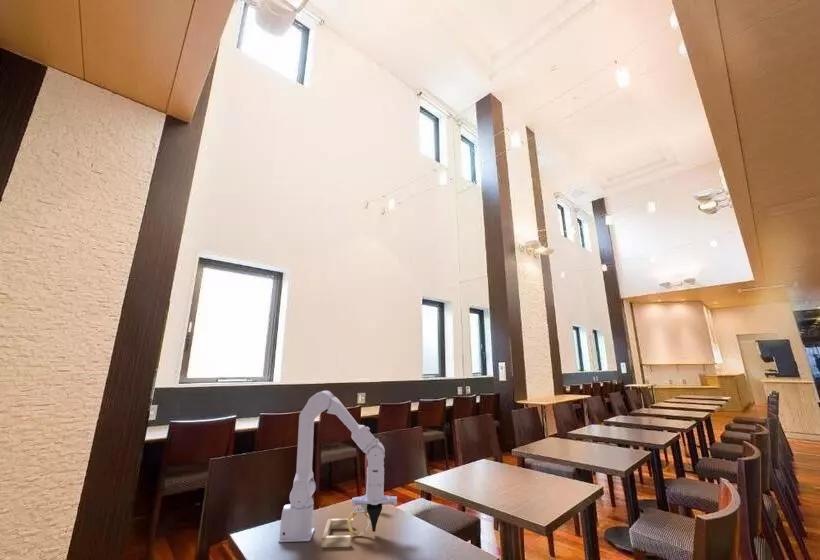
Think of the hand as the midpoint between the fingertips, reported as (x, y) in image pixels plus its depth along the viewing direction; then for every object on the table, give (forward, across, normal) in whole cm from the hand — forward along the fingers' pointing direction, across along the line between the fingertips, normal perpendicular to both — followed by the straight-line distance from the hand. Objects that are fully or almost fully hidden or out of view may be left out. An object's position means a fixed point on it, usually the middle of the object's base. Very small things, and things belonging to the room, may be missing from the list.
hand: (373, 530), depth 109 cm
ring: (+2, -5, 0) cm, 5 cm away
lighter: (+2, -2, +20) cm, 20 cm away
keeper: (+1, -10, 0) cm, 10 cm away
